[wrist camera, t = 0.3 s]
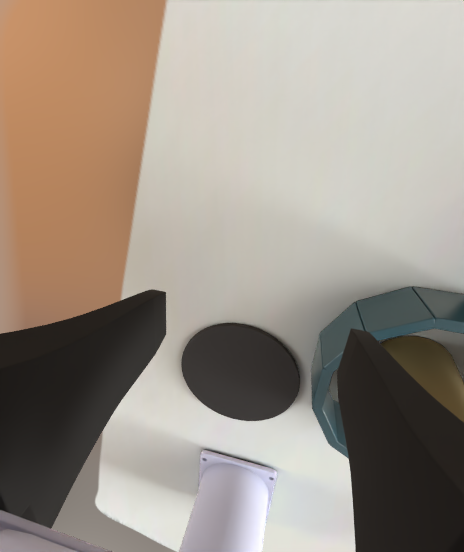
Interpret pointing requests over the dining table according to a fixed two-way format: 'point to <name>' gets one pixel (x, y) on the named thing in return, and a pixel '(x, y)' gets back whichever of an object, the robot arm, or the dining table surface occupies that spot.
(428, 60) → the dining table surface
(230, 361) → the black mat
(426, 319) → the teal hollow ring
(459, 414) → the tan game pawn
